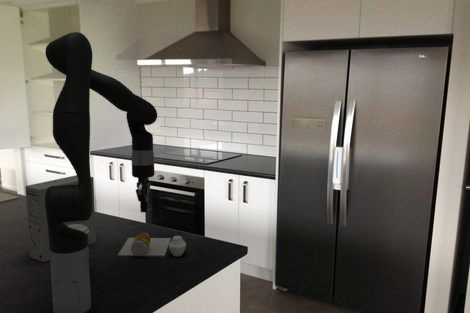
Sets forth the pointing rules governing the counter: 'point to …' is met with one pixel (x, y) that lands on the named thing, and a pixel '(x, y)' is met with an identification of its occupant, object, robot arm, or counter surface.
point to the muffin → (177, 246)
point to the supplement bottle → (140, 244)
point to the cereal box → (39, 219)
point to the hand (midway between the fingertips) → (144, 211)
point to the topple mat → (155, 248)
